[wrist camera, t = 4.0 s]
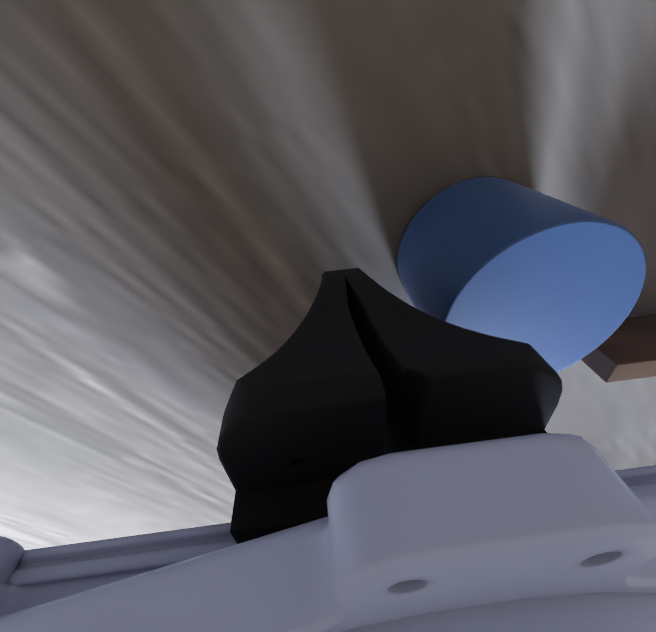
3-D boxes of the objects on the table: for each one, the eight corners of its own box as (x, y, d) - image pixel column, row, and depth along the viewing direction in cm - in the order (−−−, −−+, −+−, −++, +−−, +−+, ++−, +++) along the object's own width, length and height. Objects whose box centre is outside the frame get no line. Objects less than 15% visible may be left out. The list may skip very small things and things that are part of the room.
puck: (394, 315, 15) (430, 396, 11) (400, 185, 12) (457, 233, 8) (515, 301, 15) (595, 375, 11) (557, 168, 12) (695, 206, 8)
